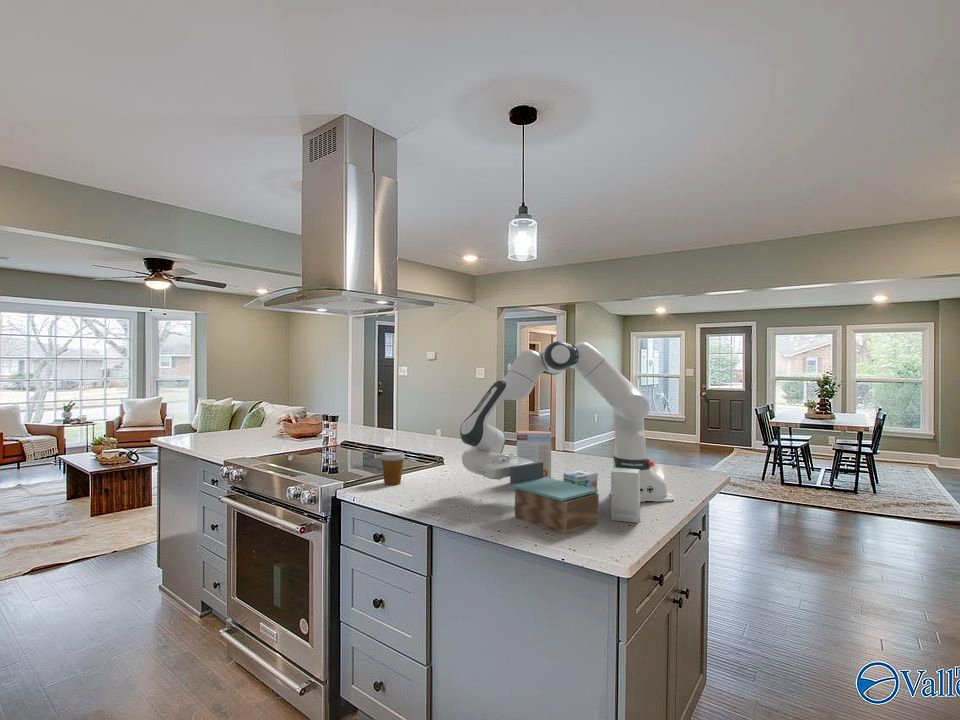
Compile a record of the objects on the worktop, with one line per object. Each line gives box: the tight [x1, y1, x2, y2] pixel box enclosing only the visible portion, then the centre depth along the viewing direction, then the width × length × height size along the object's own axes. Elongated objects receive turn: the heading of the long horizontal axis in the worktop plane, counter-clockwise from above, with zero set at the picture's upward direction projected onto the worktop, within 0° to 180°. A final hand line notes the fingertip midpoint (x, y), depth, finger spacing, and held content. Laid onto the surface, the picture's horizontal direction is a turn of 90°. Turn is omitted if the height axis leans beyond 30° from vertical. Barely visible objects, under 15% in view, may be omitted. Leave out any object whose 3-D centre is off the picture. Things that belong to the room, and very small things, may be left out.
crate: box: [514, 488, 600, 535], centre depth 156 cm, size 20×16×9 cm
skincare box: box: [610, 468, 641, 524], centre depth 159 cm, size 8×7×16 cm
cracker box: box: [516, 430, 552, 479], centre depth 206 cm, size 14×6×21 cm, turn 84°
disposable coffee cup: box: [380, 450, 406, 486], centre depth 200 cm, size 10×10×12 cm
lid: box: [509, 462, 599, 501], centre depth 158 cm, size 22×17×6 cm
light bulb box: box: [563, 469, 598, 490], centre depth 176 cm, size 11×7×11 cm, turn 126°
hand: (525, 472), depth 166 cm, fingers closed, pressing on lid
